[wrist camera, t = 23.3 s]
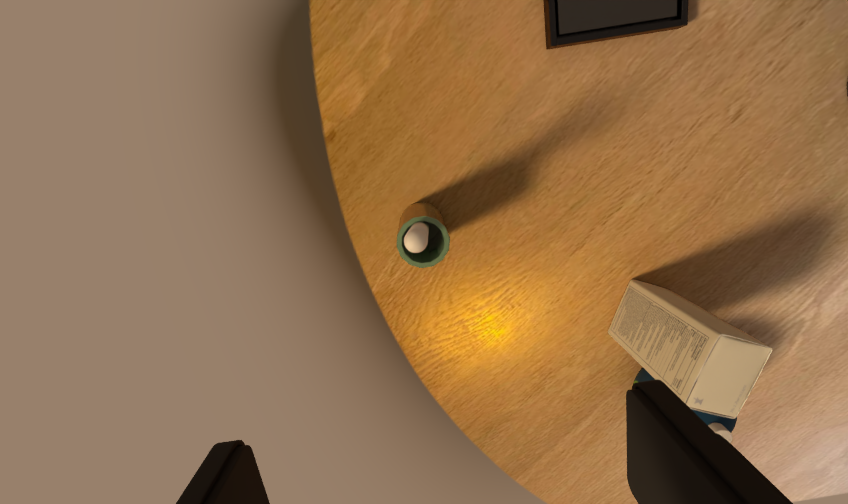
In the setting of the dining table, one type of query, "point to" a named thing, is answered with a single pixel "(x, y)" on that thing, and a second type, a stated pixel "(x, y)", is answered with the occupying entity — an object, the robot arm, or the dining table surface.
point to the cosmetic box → (688, 348)
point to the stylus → (417, 237)
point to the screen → (610, 13)
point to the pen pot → (436, 235)
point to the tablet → (610, 32)
